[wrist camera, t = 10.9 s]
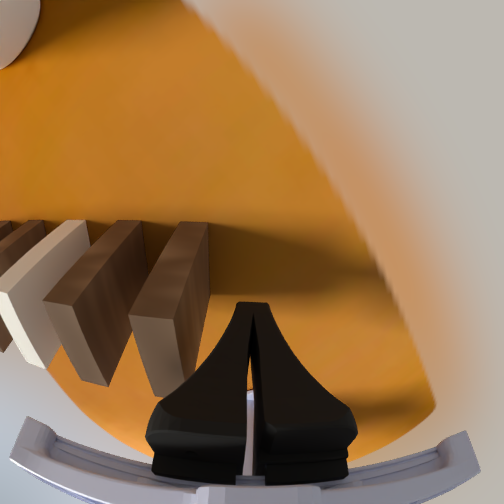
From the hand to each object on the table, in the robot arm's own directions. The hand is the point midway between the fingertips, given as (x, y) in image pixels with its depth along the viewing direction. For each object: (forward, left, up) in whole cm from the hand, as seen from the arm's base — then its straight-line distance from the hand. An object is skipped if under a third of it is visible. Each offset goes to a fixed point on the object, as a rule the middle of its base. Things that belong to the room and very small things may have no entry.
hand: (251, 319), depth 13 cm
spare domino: (+6, +10, -5) cm, 12 cm away
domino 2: (+4, +6, -5) cm, 9 cm away
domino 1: (+2, +3, -5) cm, 6 cm away
